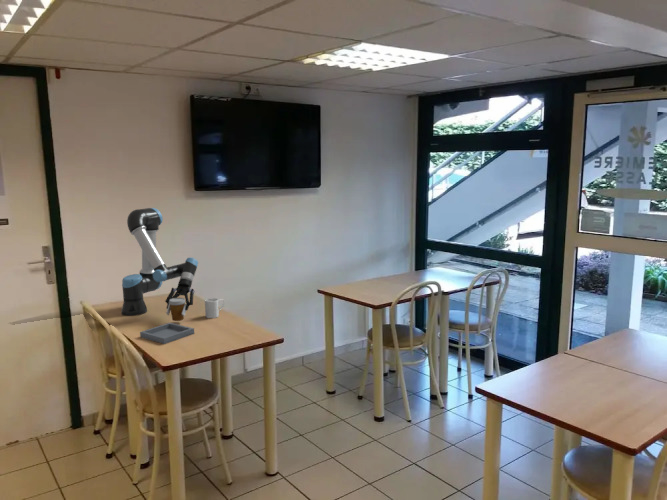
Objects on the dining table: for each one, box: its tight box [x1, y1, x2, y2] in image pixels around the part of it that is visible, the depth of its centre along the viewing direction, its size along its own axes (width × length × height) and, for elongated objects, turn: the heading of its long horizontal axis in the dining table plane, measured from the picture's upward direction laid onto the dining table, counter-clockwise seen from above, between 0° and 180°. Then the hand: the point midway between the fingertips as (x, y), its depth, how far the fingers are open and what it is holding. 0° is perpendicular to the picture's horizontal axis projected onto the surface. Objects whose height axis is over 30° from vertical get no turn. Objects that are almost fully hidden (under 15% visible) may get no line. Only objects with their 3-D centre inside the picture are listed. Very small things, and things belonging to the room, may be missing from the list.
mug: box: [204, 297, 226, 319], centre depth 324 cm, size 12×8×10 cm, turn 125°
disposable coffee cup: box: [169, 297, 186, 322], centre depth 310 cm, size 10×10×12 cm
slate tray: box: [139, 322, 195, 345], centre depth 289 cm, size 20×20×3 cm
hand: (175, 314), depth 307 cm, fingers closed on disposable coffee cup, 9 cm apart
